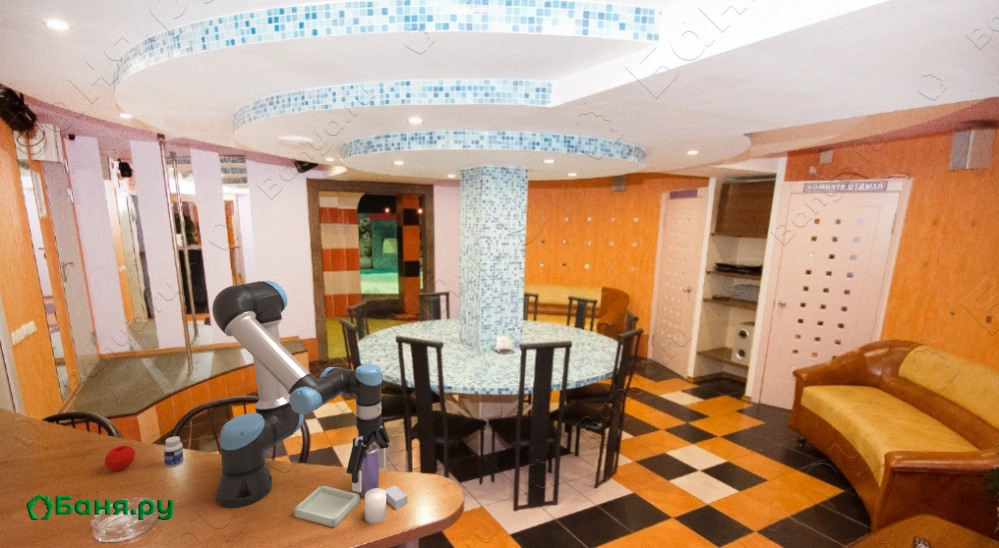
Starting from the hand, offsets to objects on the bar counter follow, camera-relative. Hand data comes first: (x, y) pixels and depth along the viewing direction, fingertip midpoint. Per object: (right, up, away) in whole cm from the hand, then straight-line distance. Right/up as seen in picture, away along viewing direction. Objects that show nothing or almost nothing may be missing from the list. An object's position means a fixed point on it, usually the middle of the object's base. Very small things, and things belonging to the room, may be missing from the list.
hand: (369, 478), depth 139 cm
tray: (-10, -6, -8) cm, 14 cm away
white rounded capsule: (+5, -6, -10) cm, 13 cm away
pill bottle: (-71, -1, +12) cm, 72 cm away
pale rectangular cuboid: (+9, -6, -3) cm, 11 cm away
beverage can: (0, -5, +1) cm, 5 cm away
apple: (-86, -1, +8) cm, 86 cm away
